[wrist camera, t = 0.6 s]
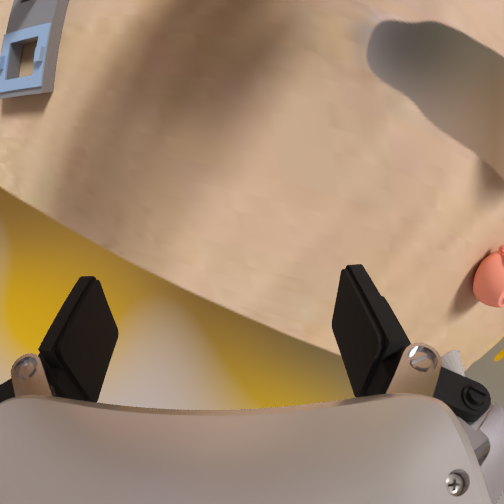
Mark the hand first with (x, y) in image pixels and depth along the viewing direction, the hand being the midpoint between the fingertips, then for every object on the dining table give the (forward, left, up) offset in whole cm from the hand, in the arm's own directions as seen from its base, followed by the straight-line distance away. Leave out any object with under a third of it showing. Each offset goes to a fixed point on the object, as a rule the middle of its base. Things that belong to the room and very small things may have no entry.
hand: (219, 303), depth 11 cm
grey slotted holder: (-18, -30, -29) cm, 46 cm away
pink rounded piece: (+11, +57, -30) cm, 65 cm away
